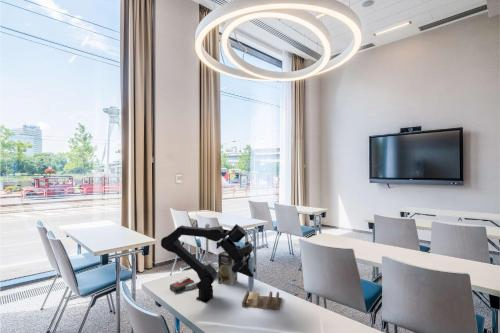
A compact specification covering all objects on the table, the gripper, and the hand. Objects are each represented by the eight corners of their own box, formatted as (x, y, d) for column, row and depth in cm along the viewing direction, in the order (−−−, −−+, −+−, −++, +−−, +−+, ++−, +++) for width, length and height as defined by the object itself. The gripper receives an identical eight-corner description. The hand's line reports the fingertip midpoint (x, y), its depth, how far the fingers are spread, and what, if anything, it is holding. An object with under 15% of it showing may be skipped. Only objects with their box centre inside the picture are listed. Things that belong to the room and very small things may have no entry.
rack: (241, 308, 122) (242, 301, 122) (247, 296, 134) (247, 289, 134) (280, 312, 119) (280, 304, 119) (281, 299, 131) (281, 292, 131)
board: (248, 291, 125) (248, 260, 125) (250, 285, 131) (250, 256, 131) (251, 291, 125) (251, 260, 125) (253, 285, 131) (253, 256, 131)
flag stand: (207, 280, 153) (208, 226, 153) (191, 275, 160) (191, 224, 160) (222, 272, 164) (222, 222, 164) (206, 268, 171) (206, 220, 171)
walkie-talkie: (177, 295, 135) (207, 282, 150) (177, 286, 135) (208, 274, 150) (167, 290, 141) (197, 278, 156) (167, 282, 141) (197, 270, 156)
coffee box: (217, 283, 149) (217, 253, 149) (224, 279, 154) (224, 250, 155) (231, 287, 144) (231, 256, 144) (238, 282, 150) (238, 253, 150)
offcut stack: (245, 304, 124) (245, 299, 124) (249, 296, 132) (249, 291, 132) (256, 305, 123) (256, 300, 123) (259, 297, 131) (259, 292, 131)
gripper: (238, 243, 119) (263, 270, 117) (247, 232, 138) (268, 256, 136) (221, 259, 121) (245, 286, 119) (231, 247, 139) (252, 270, 137)
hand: (254, 274), depth 128 cm, fingers closed on board, 6 cm apart
